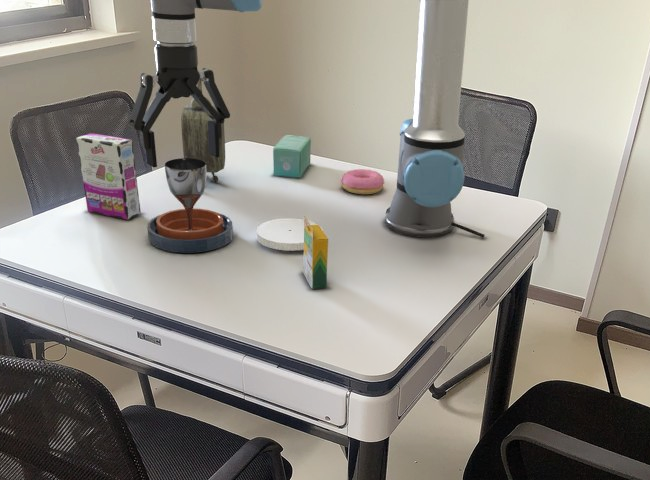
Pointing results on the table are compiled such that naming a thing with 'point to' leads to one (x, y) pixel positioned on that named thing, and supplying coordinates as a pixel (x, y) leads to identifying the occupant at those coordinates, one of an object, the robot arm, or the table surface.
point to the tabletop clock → (200, 137)
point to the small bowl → (178, 221)
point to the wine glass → (186, 182)
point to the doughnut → (362, 181)
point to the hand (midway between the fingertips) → (184, 160)
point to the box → (291, 156)
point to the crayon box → (315, 255)
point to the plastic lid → (282, 234)
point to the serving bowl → (190, 244)
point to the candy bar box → (109, 175)
